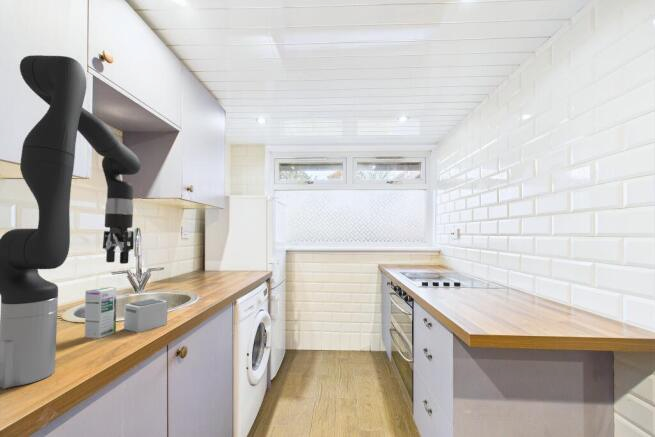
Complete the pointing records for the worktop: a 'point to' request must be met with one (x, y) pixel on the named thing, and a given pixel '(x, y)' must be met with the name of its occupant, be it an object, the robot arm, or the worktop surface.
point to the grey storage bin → (145, 315)
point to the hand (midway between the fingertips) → (117, 262)
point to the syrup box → (100, 312)
